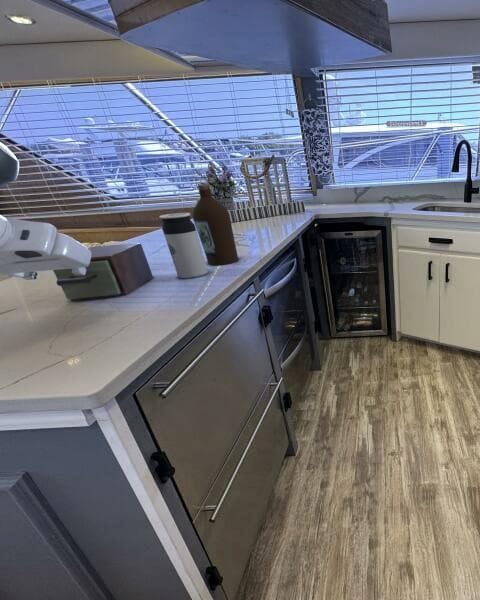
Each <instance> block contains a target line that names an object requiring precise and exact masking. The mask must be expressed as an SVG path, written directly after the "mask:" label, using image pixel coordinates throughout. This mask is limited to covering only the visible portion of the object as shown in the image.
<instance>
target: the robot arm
mask: <svg viewBox="0 0 480 600" xmlns="http://www.w3.org/2000/svg"><path fill="white" fill-rule="evenodd" d="M19 171H20V161H19V159H17V157H16V156H15V154H14V153H13V152H12V151H11V150H10V149H9V148H8V146H6V145H5V144H4V143H3V142H1V141H0V187H2V186H4V185H8V184H10V183H12V182H16V181H17V179H18V177H19ZM57 229H58V228H57V227H56V226H55V225H54V224H51V223H49V222H42V221H31V220H24V219H17V218H14V217H8V216H3V215H2V214H0V275H6V276H10V277H17V278H21V279H23V280H25V281H34V280H37V278H38V272H46V271H53V270H59V269H73V270H72V273H73V274H76V276H78V275H85V274H86V268H84V267H88V266H89V264H90V260H91V251H90V250H89V249H88V248H89V247H87V246H85V245H84V244H82V243H81V242H79V241H78V240H76V239H74V238H73V237H71V236H69V235H66V234H64V233H61V232H57Z"/></svg>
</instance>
